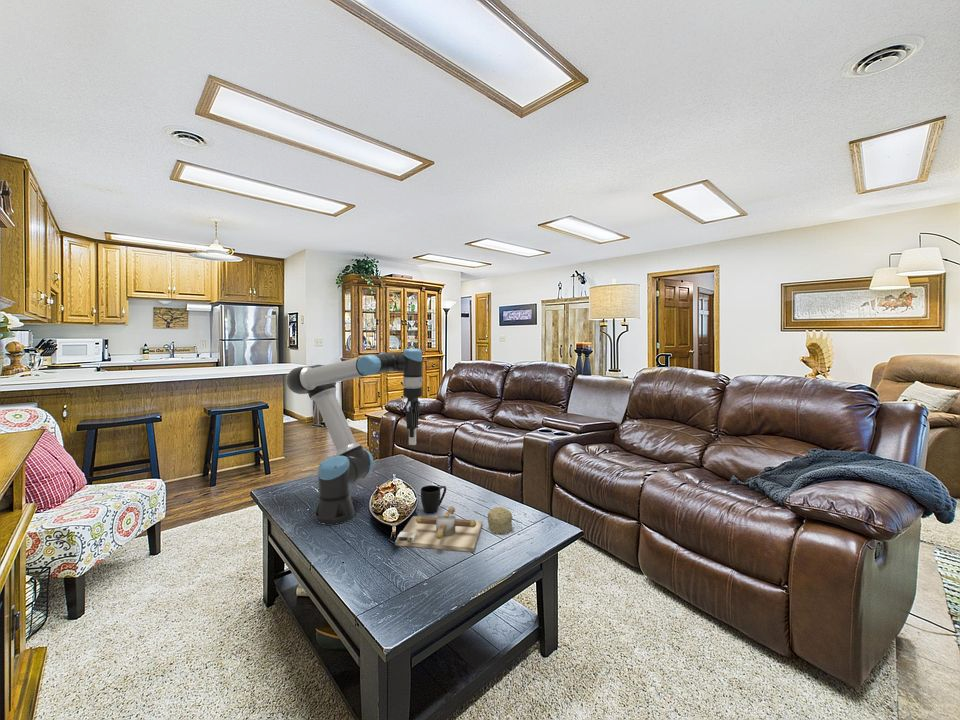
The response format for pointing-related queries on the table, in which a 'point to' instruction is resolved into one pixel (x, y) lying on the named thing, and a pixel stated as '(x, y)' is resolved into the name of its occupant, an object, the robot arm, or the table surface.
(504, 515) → the decorative object
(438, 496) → the mug
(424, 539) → the stand
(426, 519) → the capstan
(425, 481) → the table surface
